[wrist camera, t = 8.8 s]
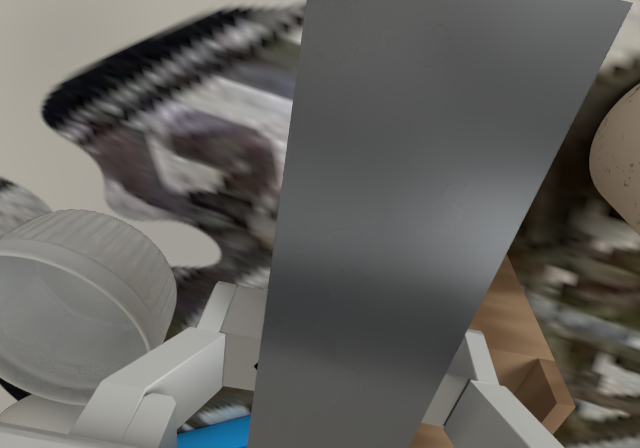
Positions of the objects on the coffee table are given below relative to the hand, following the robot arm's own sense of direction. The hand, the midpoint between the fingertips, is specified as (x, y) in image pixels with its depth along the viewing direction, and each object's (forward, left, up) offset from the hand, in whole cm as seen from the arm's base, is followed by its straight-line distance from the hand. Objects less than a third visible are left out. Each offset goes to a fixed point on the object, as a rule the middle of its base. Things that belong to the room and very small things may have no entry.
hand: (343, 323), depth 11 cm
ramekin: (+16, +15, -16) cm, 27 cm away
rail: (0, 0, -1) cm, 1 cm away
